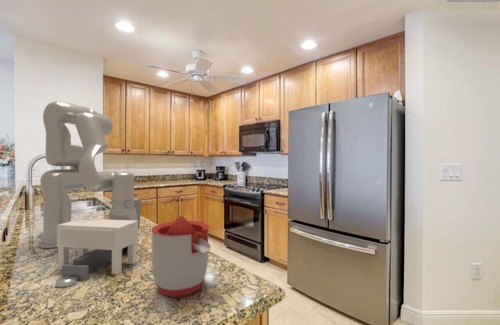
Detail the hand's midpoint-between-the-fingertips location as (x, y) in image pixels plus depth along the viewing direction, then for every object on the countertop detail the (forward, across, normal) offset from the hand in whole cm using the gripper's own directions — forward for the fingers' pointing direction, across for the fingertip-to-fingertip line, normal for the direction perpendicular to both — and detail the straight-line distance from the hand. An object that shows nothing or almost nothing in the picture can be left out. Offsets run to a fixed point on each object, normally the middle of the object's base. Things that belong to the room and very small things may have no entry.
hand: (122, 251), depth 98 cm
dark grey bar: (0, 0, -10) cm, 10 cm away
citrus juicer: (+1, +34, -23) cm, 41 cm away
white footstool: (0, 0, -13) cm, 13 cm away
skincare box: (+1, -19, +33) cm, 38 cm away
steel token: (+1, 0, -25) cm, 25 cm away
